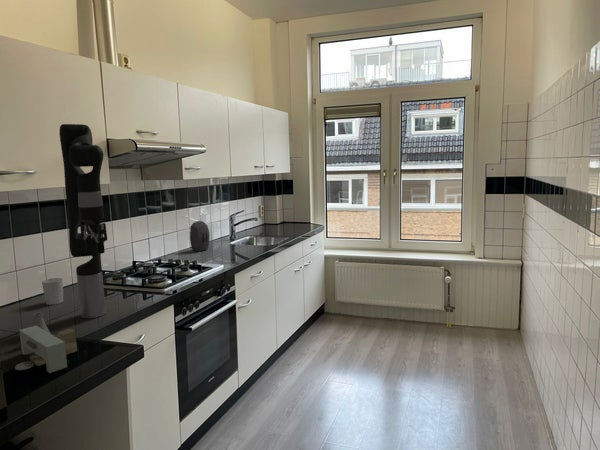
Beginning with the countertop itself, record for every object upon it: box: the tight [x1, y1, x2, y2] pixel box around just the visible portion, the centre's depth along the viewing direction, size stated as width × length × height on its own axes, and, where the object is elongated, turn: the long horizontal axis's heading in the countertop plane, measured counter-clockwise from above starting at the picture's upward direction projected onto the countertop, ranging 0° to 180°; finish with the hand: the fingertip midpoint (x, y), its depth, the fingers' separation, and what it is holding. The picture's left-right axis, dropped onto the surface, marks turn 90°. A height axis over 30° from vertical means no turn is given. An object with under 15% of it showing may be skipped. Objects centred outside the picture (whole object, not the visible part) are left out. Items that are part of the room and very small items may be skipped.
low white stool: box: [18, 325, 68, 374], centre depth 144 cm, size 22×6×8 cm, turn 49°
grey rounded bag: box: [189, 220, 210, 252], centre depth 304 cm, size 15×8×20 cm, turn 150°
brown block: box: [29, 328, 78, 367], centre depth 146 cm, size 6×12×7 cm, turn 139°
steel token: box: [14, 360, 35, 371], centre depth 140 cm, size 5×5×1 cm
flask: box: [32, 311, 52, 334], centre depth 159 cm, size 7×7×10 cm
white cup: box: [41, 277, 64, 306], centre depth 202 cm, size 8×8×10 cm
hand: (95, 251), depth 159 cm, fingers open, 8 cm apart
